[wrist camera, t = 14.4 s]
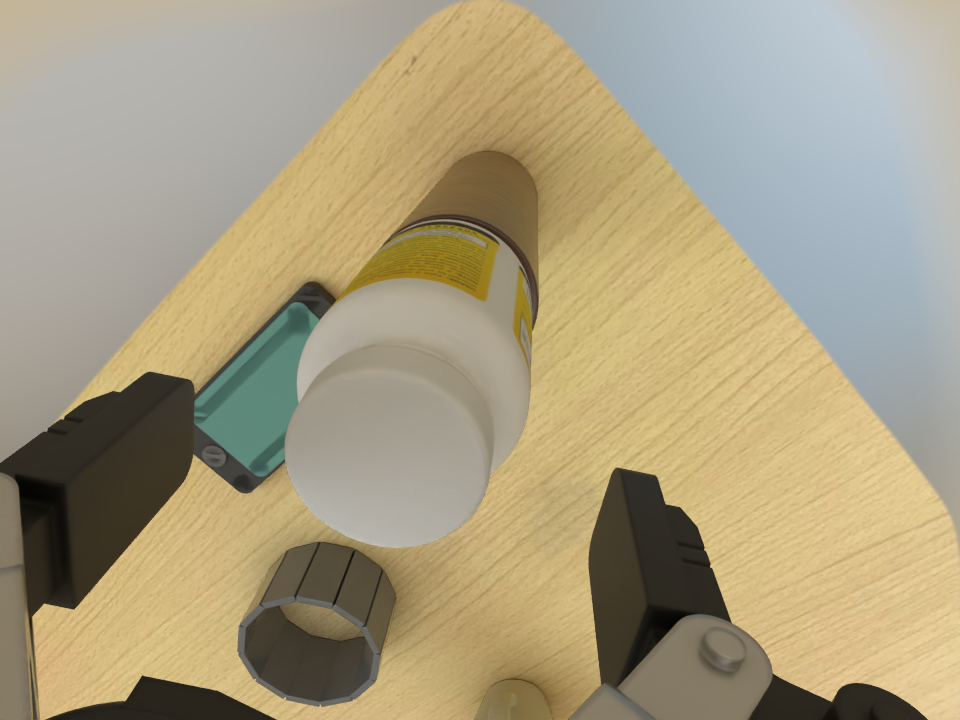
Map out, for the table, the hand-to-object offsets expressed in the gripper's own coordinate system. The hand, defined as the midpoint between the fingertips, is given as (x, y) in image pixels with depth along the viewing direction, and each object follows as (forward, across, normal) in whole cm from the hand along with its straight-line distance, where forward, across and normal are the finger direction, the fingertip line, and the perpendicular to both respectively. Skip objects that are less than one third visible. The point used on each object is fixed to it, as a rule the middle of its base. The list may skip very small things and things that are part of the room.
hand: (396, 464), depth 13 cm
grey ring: (+28, +6, +31) cm, 42 cm away
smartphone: (+28, +11, +15) cm, 33 cm away
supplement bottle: (+10, 0, 0) cm, 10 cm away
